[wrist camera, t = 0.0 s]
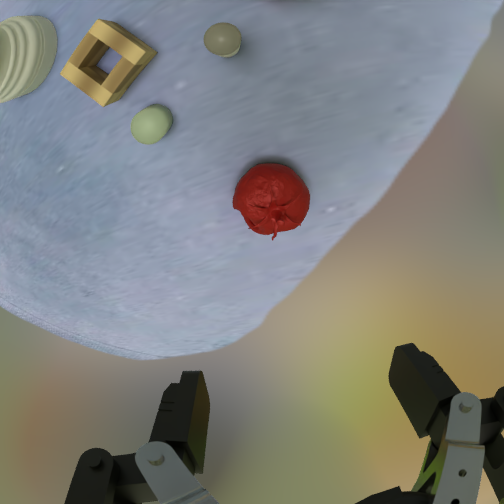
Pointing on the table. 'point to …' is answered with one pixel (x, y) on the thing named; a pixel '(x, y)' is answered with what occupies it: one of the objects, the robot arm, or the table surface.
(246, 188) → the pomegranate
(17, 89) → the honey pot
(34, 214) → the table surface
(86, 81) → the bead block
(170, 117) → the bead
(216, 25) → the cream capped cylinder
